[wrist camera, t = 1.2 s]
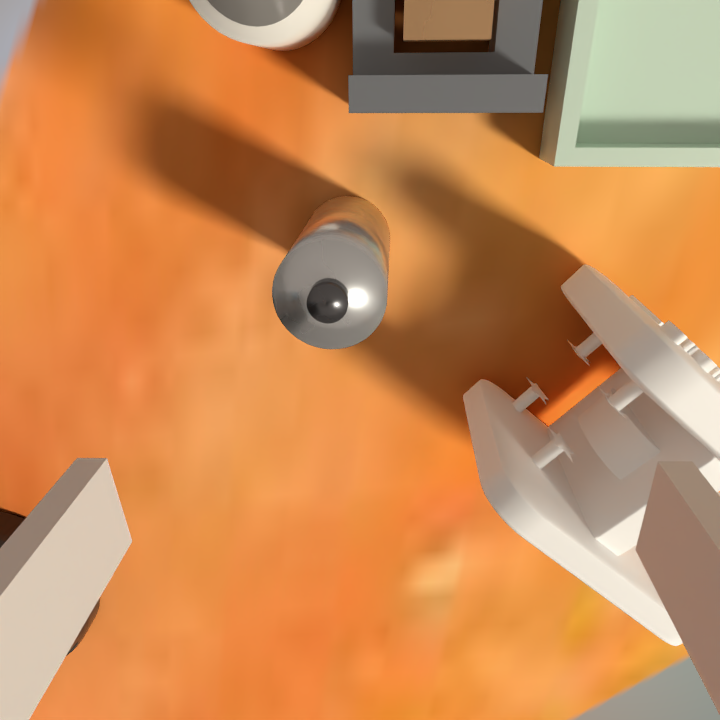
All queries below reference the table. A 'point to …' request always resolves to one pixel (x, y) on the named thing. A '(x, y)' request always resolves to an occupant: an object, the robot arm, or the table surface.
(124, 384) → the table surface
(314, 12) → the cup
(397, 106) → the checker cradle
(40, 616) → the robot arm
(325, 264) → the steel cell
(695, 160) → the tray
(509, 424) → the cable organizer
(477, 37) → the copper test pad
